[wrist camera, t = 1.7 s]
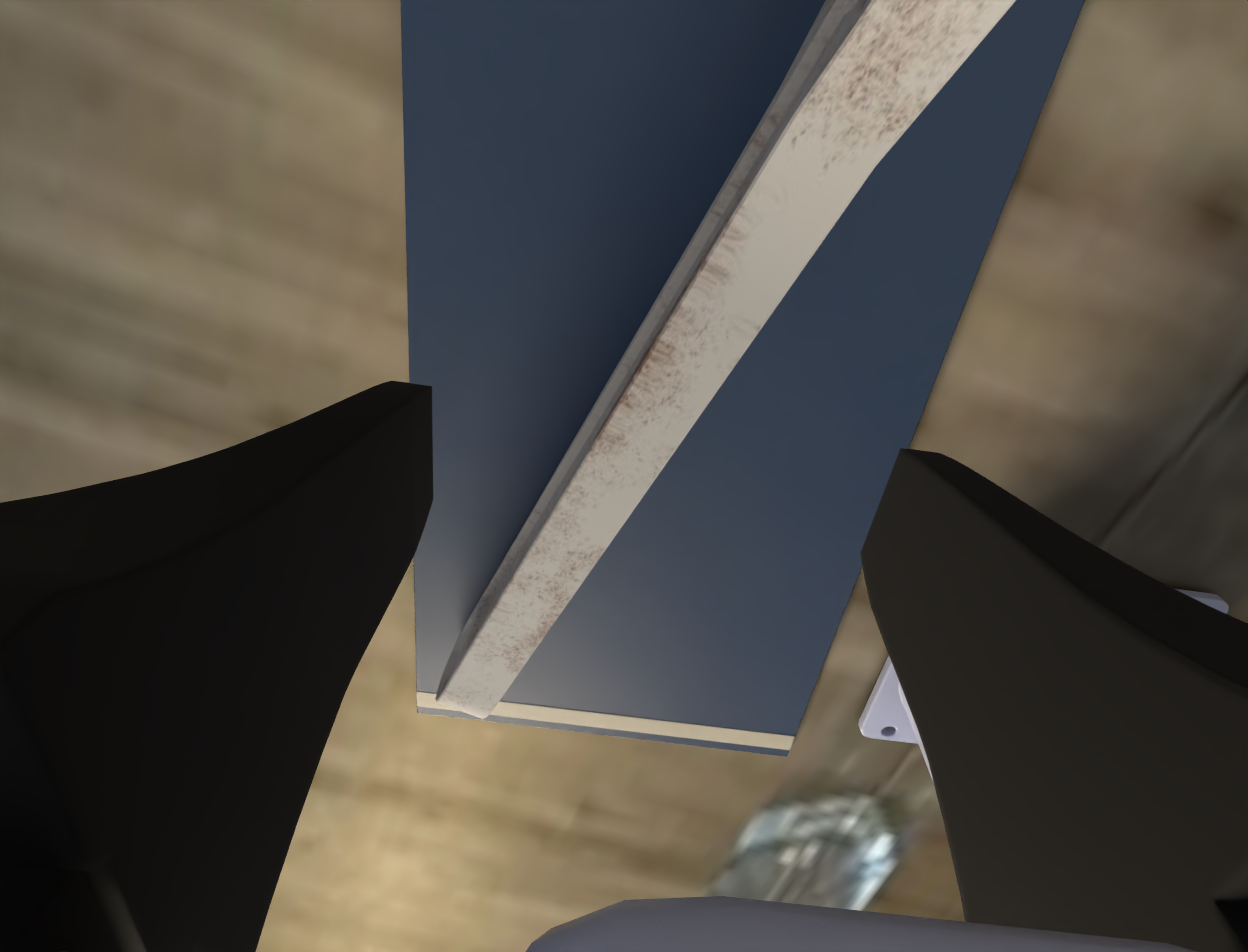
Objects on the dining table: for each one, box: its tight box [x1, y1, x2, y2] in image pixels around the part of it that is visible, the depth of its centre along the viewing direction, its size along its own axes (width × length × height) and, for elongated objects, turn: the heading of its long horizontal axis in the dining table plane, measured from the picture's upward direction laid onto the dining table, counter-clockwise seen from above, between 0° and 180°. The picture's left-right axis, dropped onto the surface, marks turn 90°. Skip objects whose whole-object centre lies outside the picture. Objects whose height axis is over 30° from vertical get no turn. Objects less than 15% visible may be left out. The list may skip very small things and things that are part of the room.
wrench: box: [435, 0, 1016, 719], centre depth 15 cm, size 8×2×30 cm
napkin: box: [401, 0, 1085, 757], centre depth 18 cm, size 14×34×1 cm, turn 172°
